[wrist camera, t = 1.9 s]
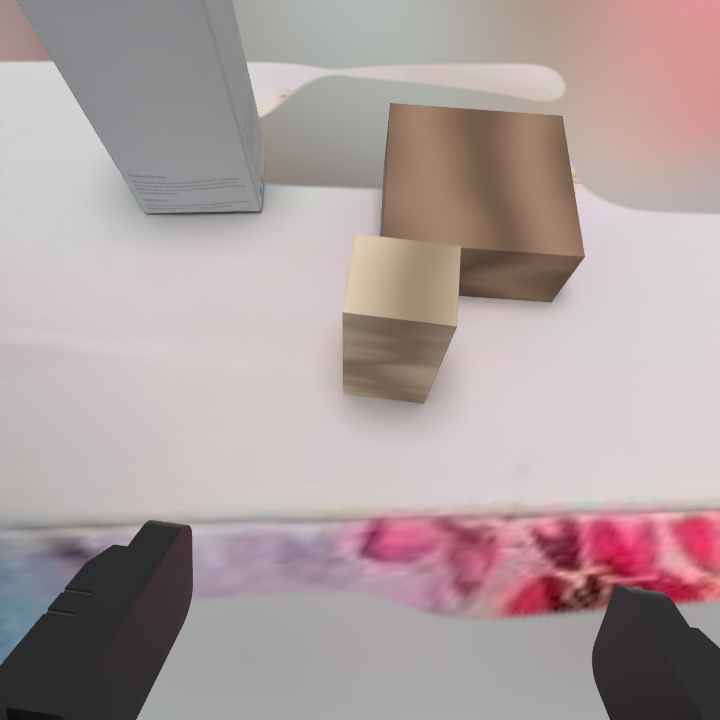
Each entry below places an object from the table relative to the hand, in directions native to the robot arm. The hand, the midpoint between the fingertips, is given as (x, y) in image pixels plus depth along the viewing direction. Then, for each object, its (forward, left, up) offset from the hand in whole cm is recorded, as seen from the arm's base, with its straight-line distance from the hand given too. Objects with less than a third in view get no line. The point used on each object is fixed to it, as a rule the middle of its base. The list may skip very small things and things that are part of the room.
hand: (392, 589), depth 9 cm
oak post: (0, +12, -16) cm, 20 cm away
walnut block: (+4, +23, -16) cm, 28 cm away
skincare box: (-14, +24, -16) cm, 32 cm away
